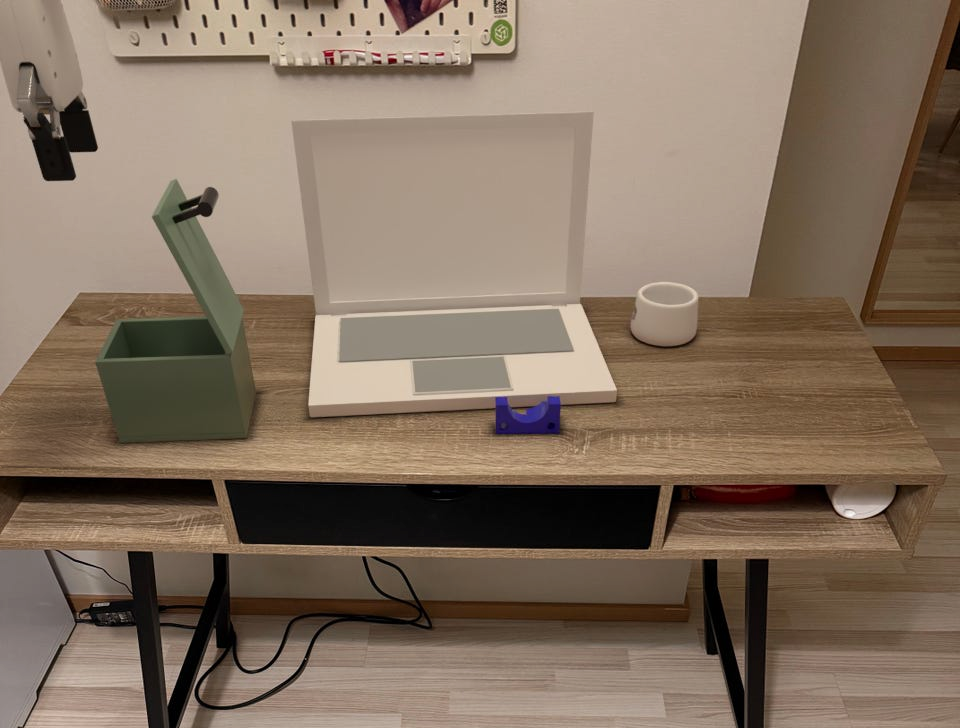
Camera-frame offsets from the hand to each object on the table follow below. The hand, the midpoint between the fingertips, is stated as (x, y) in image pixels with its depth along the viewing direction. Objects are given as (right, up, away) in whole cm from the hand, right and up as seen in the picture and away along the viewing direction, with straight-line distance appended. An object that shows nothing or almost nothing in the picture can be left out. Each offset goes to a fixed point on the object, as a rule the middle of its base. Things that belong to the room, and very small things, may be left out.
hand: (72, 165), depth 99 cm
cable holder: (+49, -24, +19) cm, 58 cm away
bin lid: (+11, -8, +8) cm, 16 cm away
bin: (+6, -22, +21) cm, 31 cm away
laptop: (+40, -11, +33) cm, 53 cm away
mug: (+70, -5, +39) cm, 81 cm away
